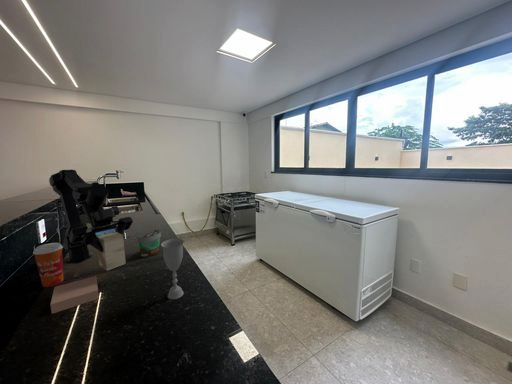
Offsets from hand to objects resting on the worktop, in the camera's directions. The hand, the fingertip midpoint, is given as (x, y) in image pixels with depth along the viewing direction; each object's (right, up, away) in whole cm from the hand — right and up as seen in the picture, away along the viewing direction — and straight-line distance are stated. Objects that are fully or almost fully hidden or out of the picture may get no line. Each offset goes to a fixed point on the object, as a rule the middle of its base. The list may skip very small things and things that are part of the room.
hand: (112, 248), depth 75 cm
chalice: (+24, -14, -4) cm, 28 cm away
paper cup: (-23, -13, +2) cm, 27 cm away
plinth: (-8, -14, -6) cm, 17 cm away
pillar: (-1, -6, +2) cm, 7 cm away
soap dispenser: (-37, -7, +47) cm, 61 cm away
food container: (+2, -10, +27) cm, 29 cm away
